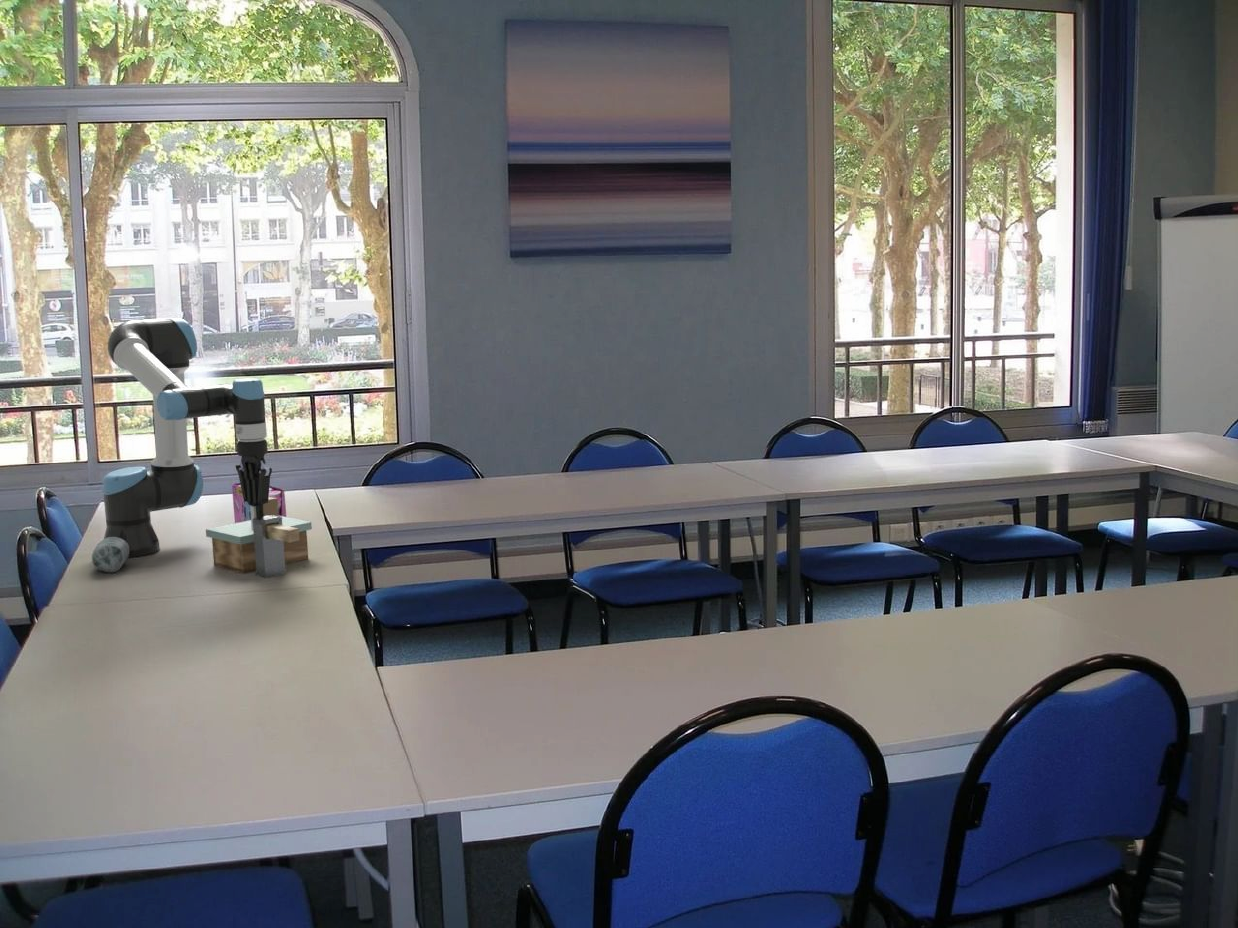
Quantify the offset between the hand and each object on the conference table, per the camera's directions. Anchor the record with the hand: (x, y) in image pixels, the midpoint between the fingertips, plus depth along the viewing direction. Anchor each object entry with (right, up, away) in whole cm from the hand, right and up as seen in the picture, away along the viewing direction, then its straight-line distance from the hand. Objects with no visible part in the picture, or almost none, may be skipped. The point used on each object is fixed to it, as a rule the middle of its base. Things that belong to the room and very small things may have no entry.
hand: (258, 529), depth 319 cm
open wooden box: (-3, -9, +13) cm, 16 cm away
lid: (-3, -1, +11) cm, 12 cm away
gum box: (-14, -3, +52) cm, 54 cm away
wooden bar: (+6, -2, -5) cm, 8 cm away
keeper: (+4, -11, -1) cm, 12 cm away
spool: (-41, -11, +9) cm, 44 cm away
